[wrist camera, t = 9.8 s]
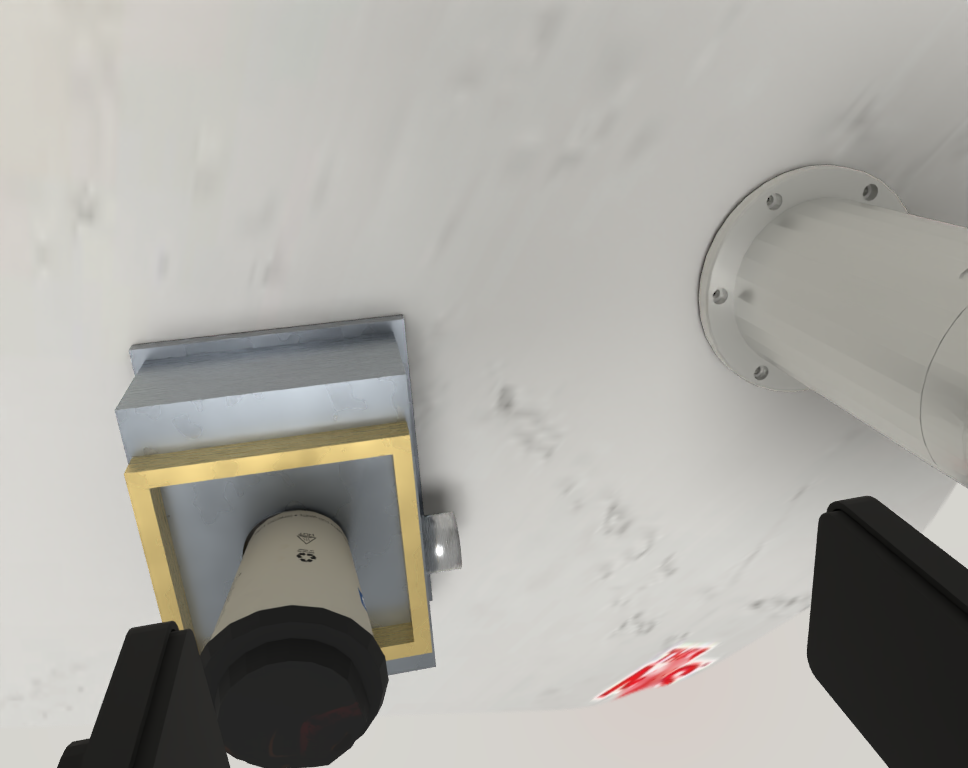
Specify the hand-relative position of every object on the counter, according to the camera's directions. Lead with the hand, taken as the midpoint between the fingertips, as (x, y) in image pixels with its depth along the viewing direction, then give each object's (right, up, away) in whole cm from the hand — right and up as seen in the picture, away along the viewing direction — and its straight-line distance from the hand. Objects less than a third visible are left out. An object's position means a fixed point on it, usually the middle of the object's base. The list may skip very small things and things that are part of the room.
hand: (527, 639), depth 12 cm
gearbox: (-11, -2, +31) cm, 33 cm away
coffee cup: (-9, -4, +25) cm, 27 cm away
